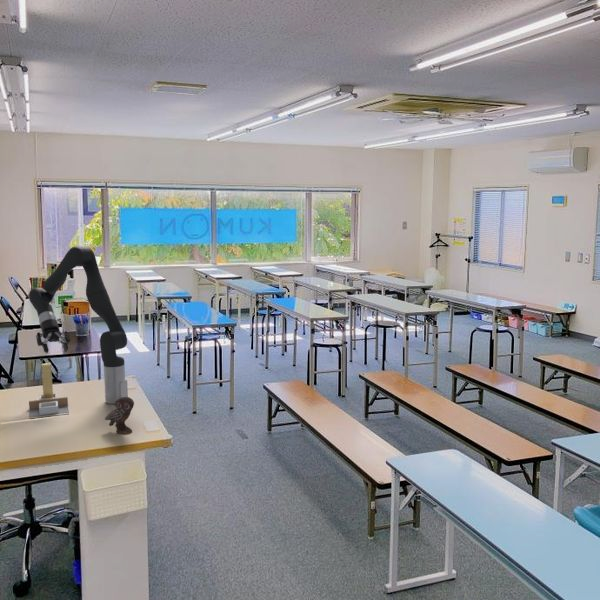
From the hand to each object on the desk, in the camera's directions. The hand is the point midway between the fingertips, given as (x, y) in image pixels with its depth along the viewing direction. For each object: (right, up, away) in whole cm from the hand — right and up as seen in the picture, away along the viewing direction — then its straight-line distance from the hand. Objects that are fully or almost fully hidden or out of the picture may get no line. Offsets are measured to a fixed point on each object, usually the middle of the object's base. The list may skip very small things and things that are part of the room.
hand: (56, 351), depth 286 cm
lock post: (-4, -23, +1) cm, 24 cm away
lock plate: (-2, -25, -5) cm, 26 cm away
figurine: (+39, -30, -35) cm, 60 cm away
